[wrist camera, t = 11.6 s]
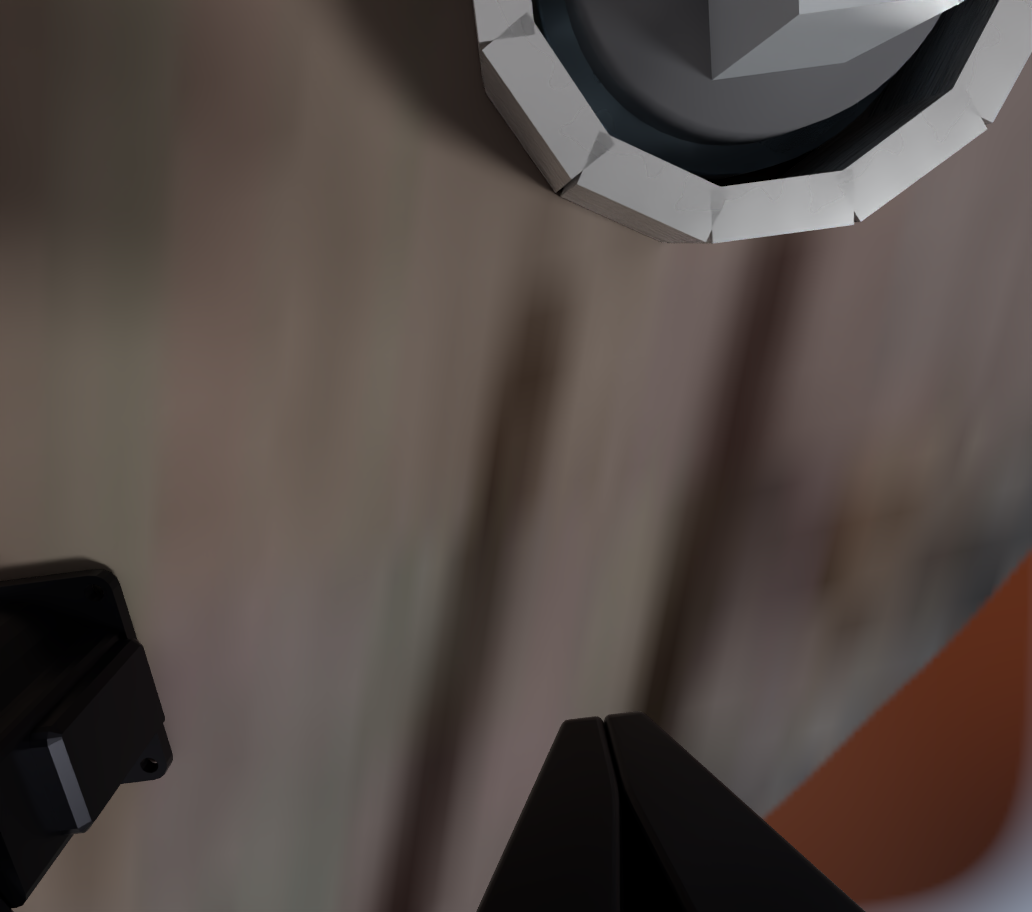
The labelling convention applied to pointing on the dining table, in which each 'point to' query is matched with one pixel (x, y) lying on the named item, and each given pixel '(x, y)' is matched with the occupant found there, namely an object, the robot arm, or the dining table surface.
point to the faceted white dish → (752, 206)
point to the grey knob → (746, 59)
